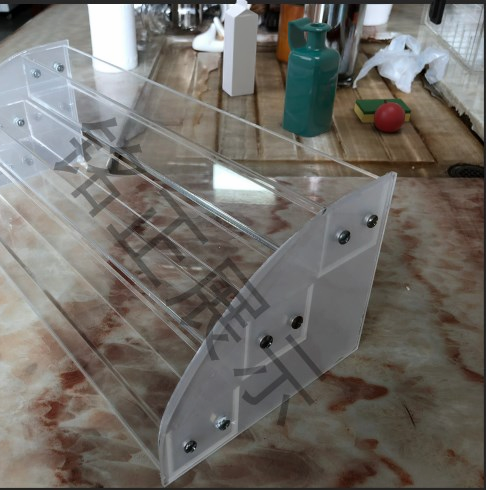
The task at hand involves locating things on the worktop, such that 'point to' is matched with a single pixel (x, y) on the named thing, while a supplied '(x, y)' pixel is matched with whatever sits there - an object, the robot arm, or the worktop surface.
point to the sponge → (369, 107)
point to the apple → (389, 117)
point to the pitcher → (310, 79)
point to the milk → (239, 49)
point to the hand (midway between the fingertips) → (464, 21)
